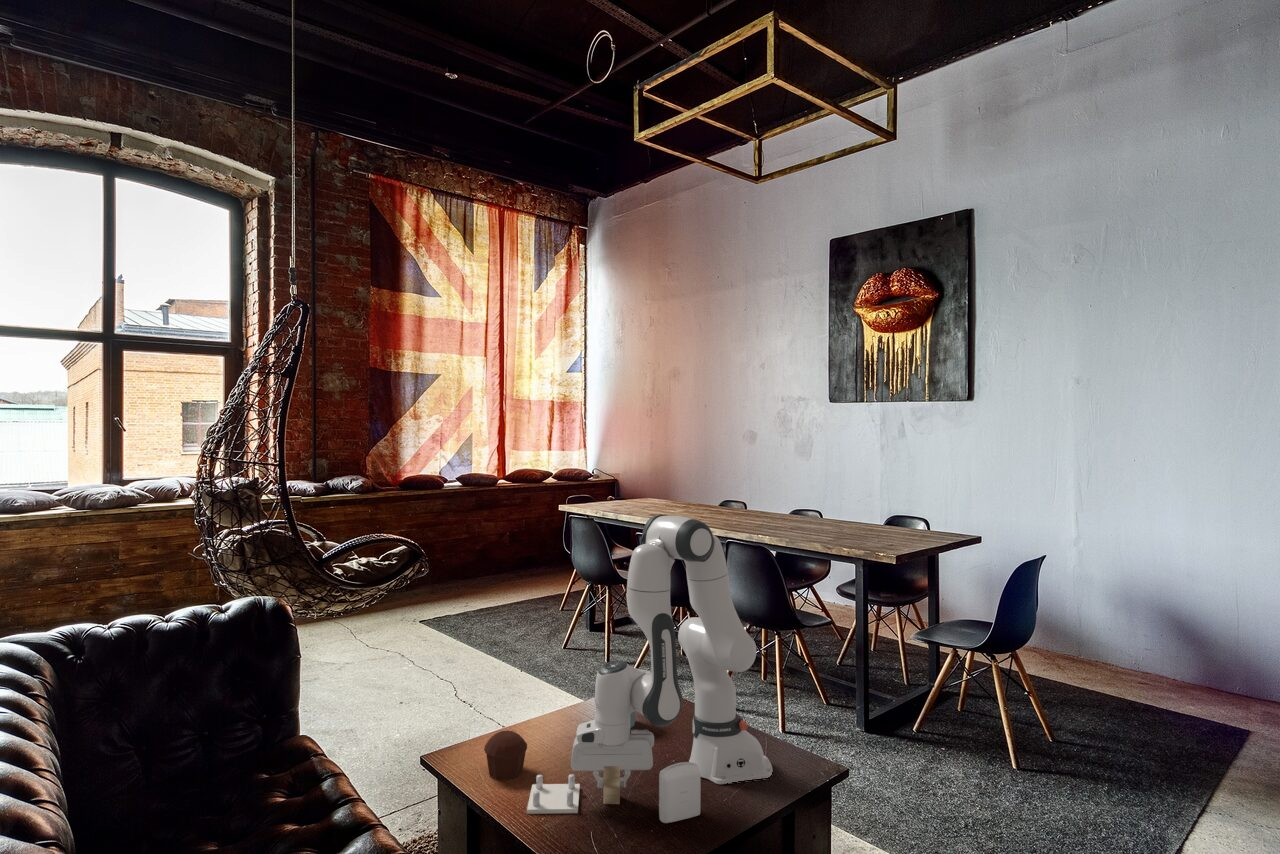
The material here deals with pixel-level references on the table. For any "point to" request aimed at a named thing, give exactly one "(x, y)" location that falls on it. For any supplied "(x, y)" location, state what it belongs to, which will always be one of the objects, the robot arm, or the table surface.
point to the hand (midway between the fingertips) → (611, 786)
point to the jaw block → (611, 785)
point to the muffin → (505, 754)
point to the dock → (554, 797)
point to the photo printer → (679, 792)
